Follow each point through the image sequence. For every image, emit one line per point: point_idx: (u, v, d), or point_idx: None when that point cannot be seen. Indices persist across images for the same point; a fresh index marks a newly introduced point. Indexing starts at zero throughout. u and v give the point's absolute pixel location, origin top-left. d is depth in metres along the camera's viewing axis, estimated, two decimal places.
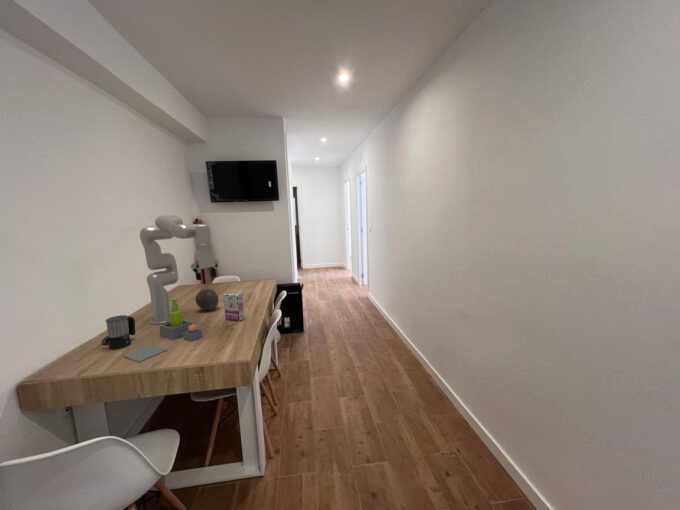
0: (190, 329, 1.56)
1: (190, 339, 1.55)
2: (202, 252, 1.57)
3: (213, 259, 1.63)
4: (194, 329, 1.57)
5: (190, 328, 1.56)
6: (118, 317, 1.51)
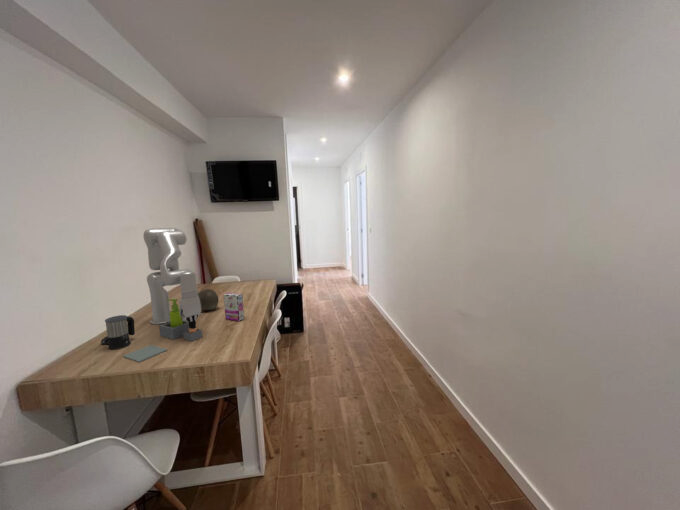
0: (190, 331, 1.56)
1: (190, 339, 1.55)
2: (187, 300, 1.52)
3: (199, 306, 1.59)
4: (194, 331, 1.57)
5: (190, 330, 1.56)
6: (117, 317, 1.51)
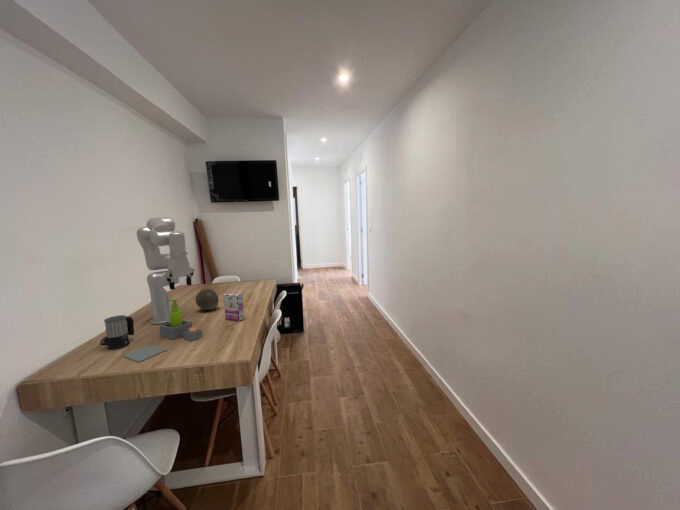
0: (190, 331, 1.56)
1: (190, 339, 1.55)
2: (176, 261, 1.52)
3: (188, 268, 1.59)
4: (194, 331, 1.57)
5: (190, 330, 1.56)
6: (116, 317, 1.51)
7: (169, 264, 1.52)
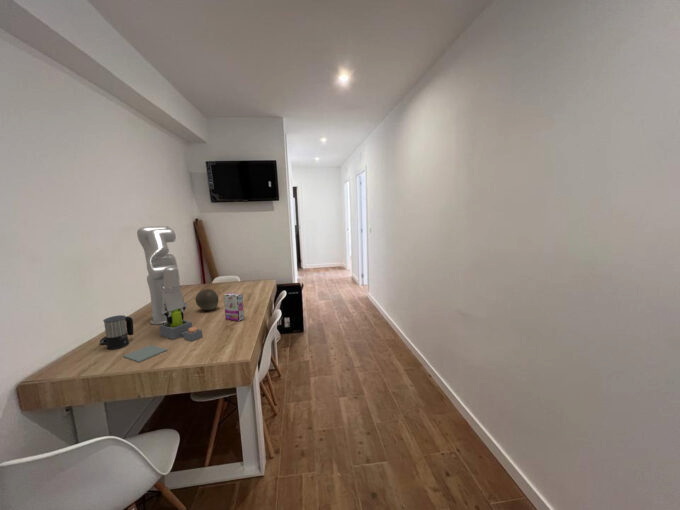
0: (190, 331, 1.56)
1: (190, 339, 1.55)
2: (170, 295, 1.58)
3: (182, 300, 1.65)
4: (194, 331, 1.57)
5: (190, 330, 1.56)
6: (116, 317, 1.51)
7: (163, 298, 1.58)
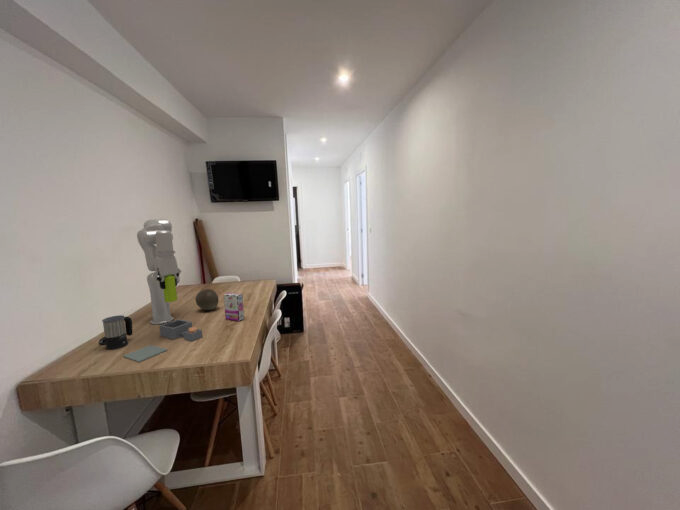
0: (190, 331, 1.56)
1: (190, 339, 1.55)
2: (163, 259, 1.53)
3: (176, 266, 1.60)
4: (194, 331, 1.57)
5: (190, 330, 1.56)
6: (115, 317, 1.51)
7: (156, 262, 1.53)
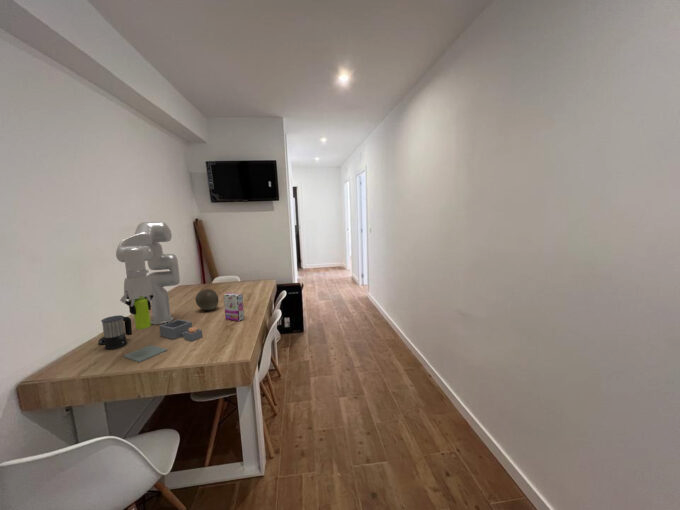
0: (190, 331, 1.56)
1: (190, 339, 1.55)
2: (133, 280, 1.33)
3: (149, 287, 1.40)
4: (194, 331, 1.57)
5: (190, 330, 1.56)
6: (114, 317, 1.50)
7: (125, 284, 1.33)
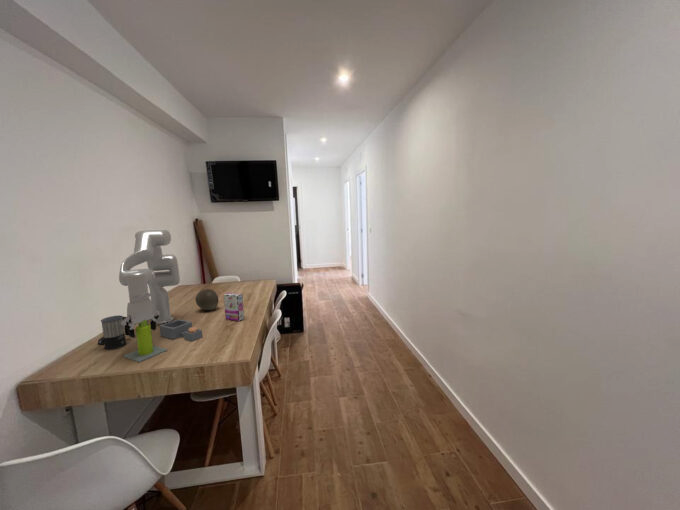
0: (190, 331, 1.56)
1: (190, 339, 1.55)
2: (136, 305, 1.35)
3: (151, 311, 1.41)
4: (194, 331, 1.57)
5: (190, 330, 1.56)
6: (113, 317, 1.50)
7: (128, 309, 1.34)
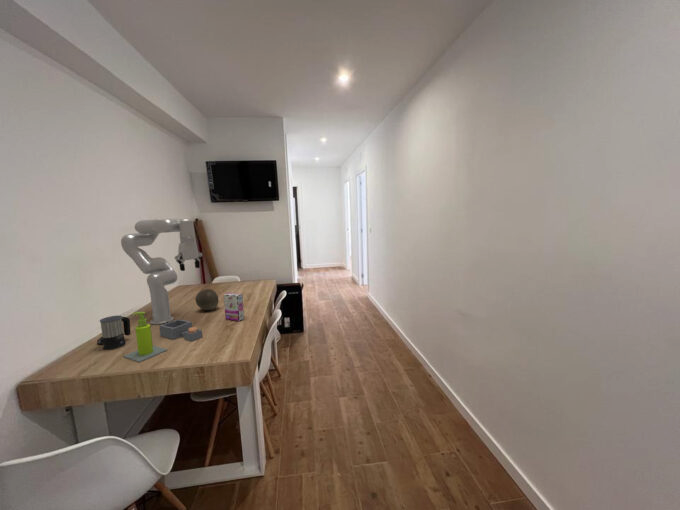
0: (190, 331, 1.56)
1: (190, 339, 1.55)
2: (185, 245, 1.69)
3: (196, 251, 1.75)
4: (194, 331, 1.57)
5: (190, 330, 1.56)
6: (112, 317, 1.50)
7: (179, 248, 1.68)
